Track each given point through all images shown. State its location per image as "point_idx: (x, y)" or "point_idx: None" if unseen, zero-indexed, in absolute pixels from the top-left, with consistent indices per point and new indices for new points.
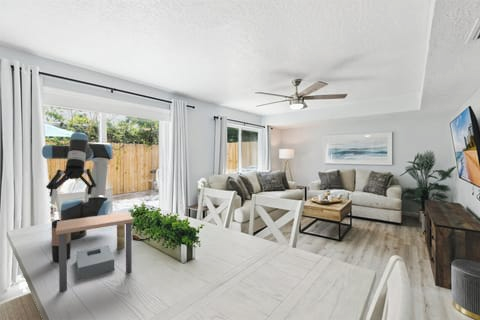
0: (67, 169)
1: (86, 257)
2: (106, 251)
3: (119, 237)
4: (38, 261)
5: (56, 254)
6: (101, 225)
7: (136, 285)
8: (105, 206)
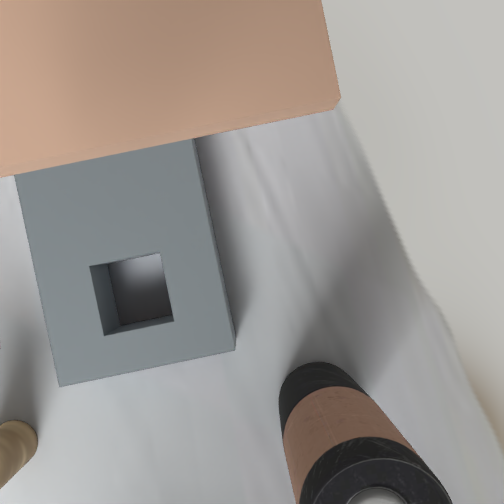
0: None
1: (162, 228)
2: (60, 276)
3: None
4: (427, 422)
5: (341, 375)
6: None
7: None
8: None
